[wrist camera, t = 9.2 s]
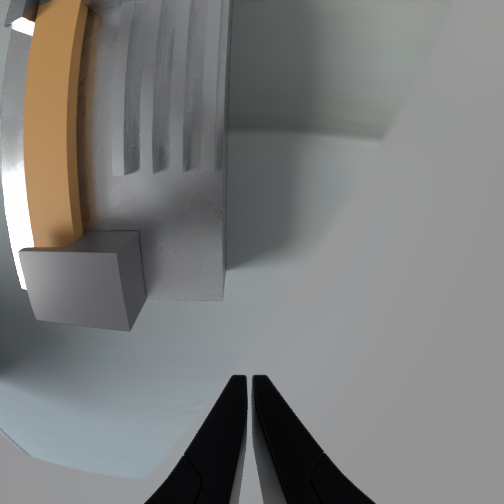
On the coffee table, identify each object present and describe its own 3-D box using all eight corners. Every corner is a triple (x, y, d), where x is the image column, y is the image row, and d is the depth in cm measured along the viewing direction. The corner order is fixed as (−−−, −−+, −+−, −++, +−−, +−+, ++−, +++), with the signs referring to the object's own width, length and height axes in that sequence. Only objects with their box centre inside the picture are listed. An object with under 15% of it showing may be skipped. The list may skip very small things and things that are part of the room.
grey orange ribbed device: (48, 14, 12) (-3, -10, 6) (234, -20, 13) (232, -77, 7) (49, 265, 19) (1, 307, 13) (225, 271, 20) (220, 328, 14)
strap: (53, -4, 9) (41, -11, 8) (96, -19, 9) (86, -29, 8) (56, 294, 16) (46, 306, 14) (96, 298, 16) (86, 310, 14)
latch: (47, 232, 14) (17, 251, 11) (138, 231, 15) (116, 252, 12) (60, 293, 16) (35, 319, 13) (146, 299, 16) (130, 331, 13)
